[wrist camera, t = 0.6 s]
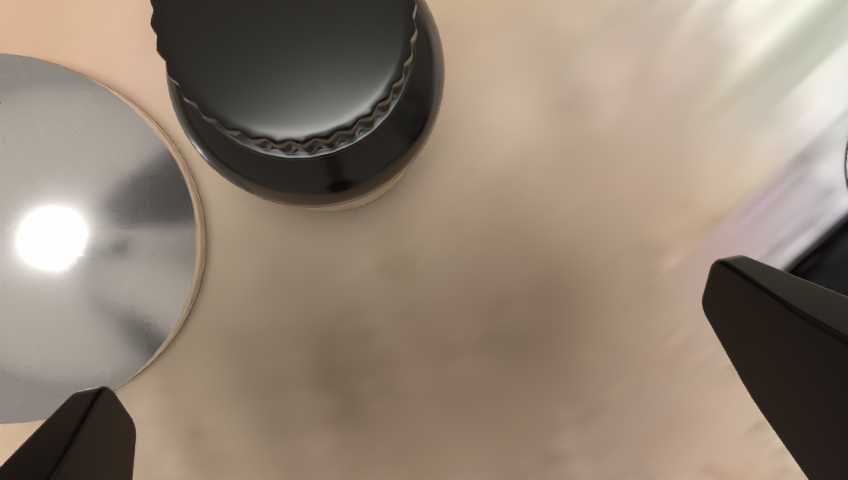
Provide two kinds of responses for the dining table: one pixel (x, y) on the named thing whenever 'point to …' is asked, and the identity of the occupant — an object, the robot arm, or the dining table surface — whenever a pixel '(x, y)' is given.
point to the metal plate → (87, 238)
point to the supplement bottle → (304, 92)
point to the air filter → (847, 164)
